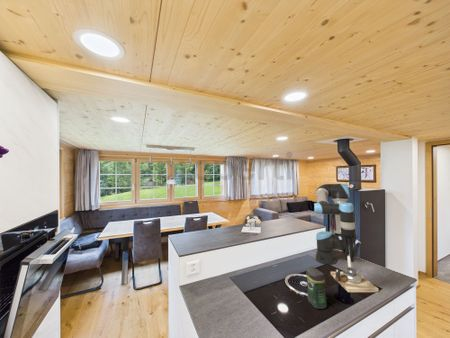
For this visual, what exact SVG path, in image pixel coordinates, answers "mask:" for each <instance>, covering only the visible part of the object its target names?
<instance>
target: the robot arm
mask: <svg viewBox="0 0 450 338" xmlns="http://www.w3.org/2000/svg"><path fill="white" fill-rule="evenodd" d="M350 193H351V192H350V190H349V186H348V185H347V184H346V183H326V184H325V183H324V184H322V185H319V186H318V187H317V189H316V190H315V196H316V199H317V200H316V202H314V203H313V205H314V207H313V208H314V209H313V210H314V213H315V214H317V215H318V214H320V215H334V217H335V228H336V230H335V231H334V234H333V233H332V232H331V231H329V230H328V231H325V230H324V231H318V232H317V233H316V236H315V240H316V253H315V255H314V257H315V258H316V259H315V258H314V259H315V261H317V262H318V263H320V264H324V265H335V264H337V260H336V257H335V255H334V252H333V251H334V250H336V251H337V250H338V251H341V252H342V254H344V255H345V260H346V261H347V267H348V268H353V266H354V265H353V263H354V262H355V258H356V257H357V256H358V253H359V249H360V246H361V244H362V241H360V240H358V239H357V237H356V229H355V228H356V222H355V207H354V204H353V203H352V202H347V201H348V200H349V198H351V195H350ZM329 198H331V201H333V202H331V203H330V202H329Z"/></svg>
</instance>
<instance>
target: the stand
mask: <svg viewBox="0 0 450 338" xmlns="http://www.w3.org/2000/svg"><path fill="white" fill-rule="evenodd" d="M343 272H344V271H340V276H341V275H343ZM356 272H357V273H359V272H358V271H356ZM330 276H331V277H333V279H335V276H336V271H330ZM361 277H362V282H361V283H351V282H349V281H347V280H346V281H340V282H338V283H339V285H340V286H341V287H342V288H343V289H344V290H345V291H347V293H379V292H380V291H379V288H378V287H377V286H375V285H374V284H373V283H372V282H371V281H369V280H368V279H366V278H365V277H364V276H363V275H361Z"/></svg>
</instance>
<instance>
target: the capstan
mask: <svg viewBox="0 0 450 338" xmlns="http://www.w3.org/2000/svg"><path fill="white" fill-rule="evenodd" d="M334 272H336V276H335V278H334V281H336V282H337V283H339V282H340V281H346V280H347V281H349V282H351V283H361V282H362V277H361V276H362V275H361V274H360V273H359V272H358V271H357V269H355V268H353V267H351V268H350V267H348V268H346V270H344V271H342V272H343V275H341V276H340V272H341V269H340V268H338V267H336V268H335V269H334ZM357 272H358V273H357Z"/></svg>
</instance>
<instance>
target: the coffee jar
mask: <svg viewBox="0 0 450 338" xmlns="http://www.w3.org/2000/svg"><path fill="white" fill-rule="evenodd" d="M305 273H306V275H305V276H306V279H307V301H308V302H309V304H310V305H312V307H313V308H315V309H319V310H324V309H326V308H327V306H328V305H327V297H326V290H325V287H326V286H325V283H326V279H325V278H326V276H325V274H324V273H323V272H322V271H321V270H319V269H317V268H315V267H312V266H311V267H307V268H306V272H305Z"/></svg>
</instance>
